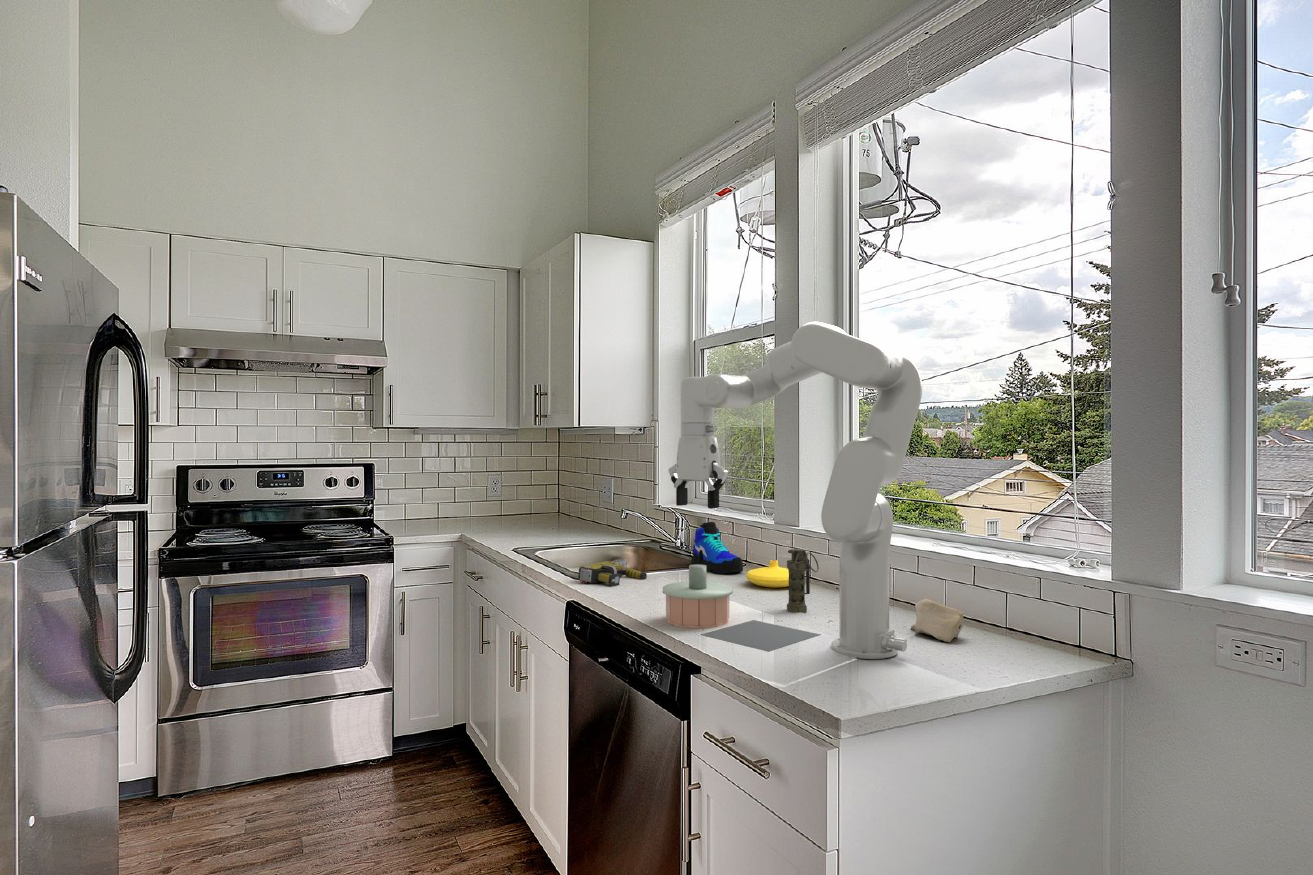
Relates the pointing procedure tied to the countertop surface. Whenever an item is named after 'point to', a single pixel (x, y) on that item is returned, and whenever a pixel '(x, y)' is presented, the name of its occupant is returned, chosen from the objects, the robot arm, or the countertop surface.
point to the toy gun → (608, 572)
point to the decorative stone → (937, 620)
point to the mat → (760, 635)
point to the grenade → (798, 580)
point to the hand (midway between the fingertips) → (697, 506)
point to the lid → (697, 586)
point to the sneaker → (713, 551)
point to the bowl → (697, 612)
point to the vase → (769, 576)
